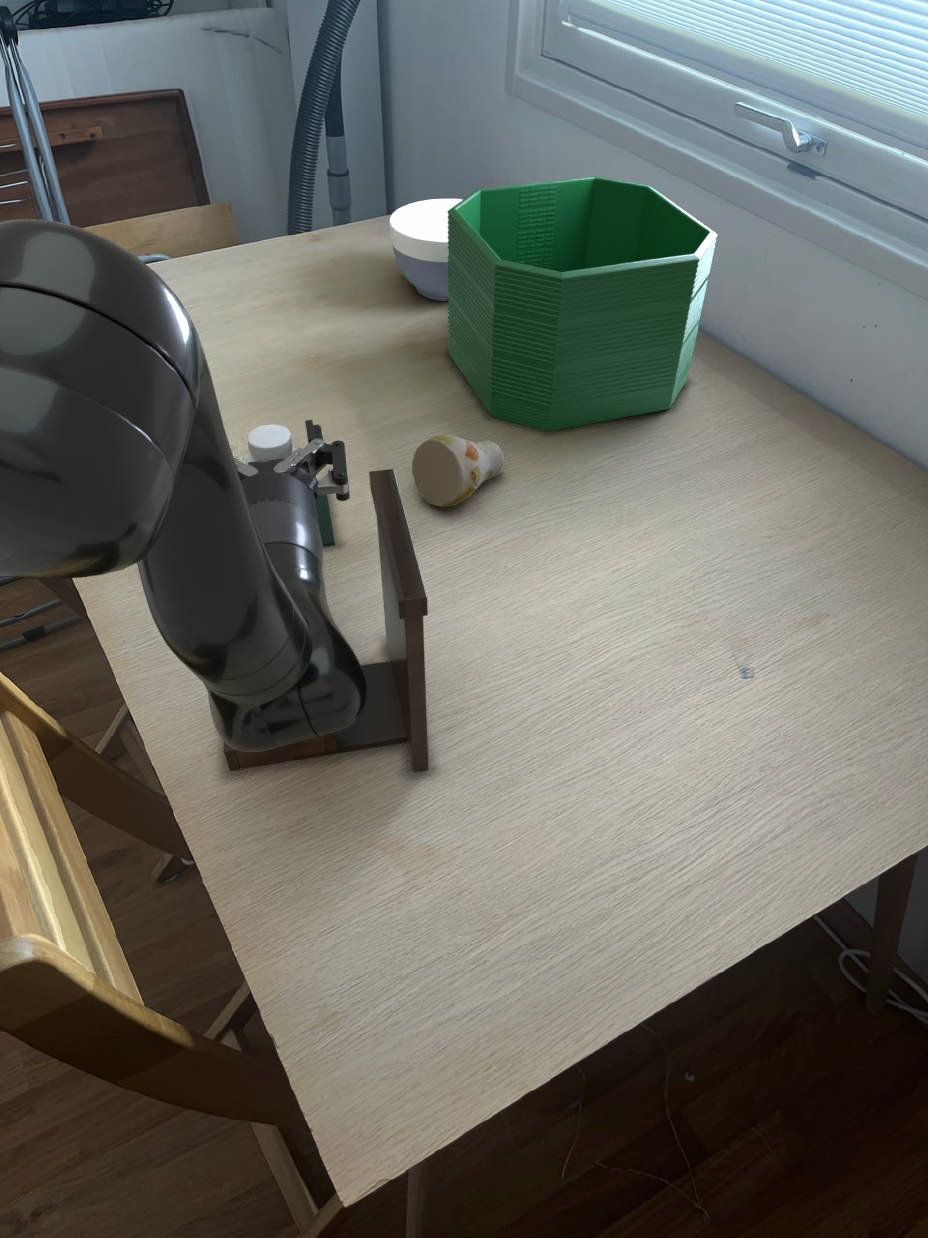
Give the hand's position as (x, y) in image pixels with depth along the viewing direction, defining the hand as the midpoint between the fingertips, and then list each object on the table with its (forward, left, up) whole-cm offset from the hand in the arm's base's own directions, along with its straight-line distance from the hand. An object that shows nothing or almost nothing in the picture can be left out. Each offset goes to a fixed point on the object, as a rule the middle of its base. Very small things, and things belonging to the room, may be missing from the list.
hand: (263, 432), depth 83 cm
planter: (+37, +23, -10) cm, 45 cm away
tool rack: (+2, -27, -9) cm, 29 cm away
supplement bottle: (+1, -2, -9) cm, 9 cm away
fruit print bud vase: (+19, +1, -10) cm, 21 cm away
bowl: (+27, +49, -10) cm, 57 cm away
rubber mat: (0, -1, -9) cm, 9 cm away
